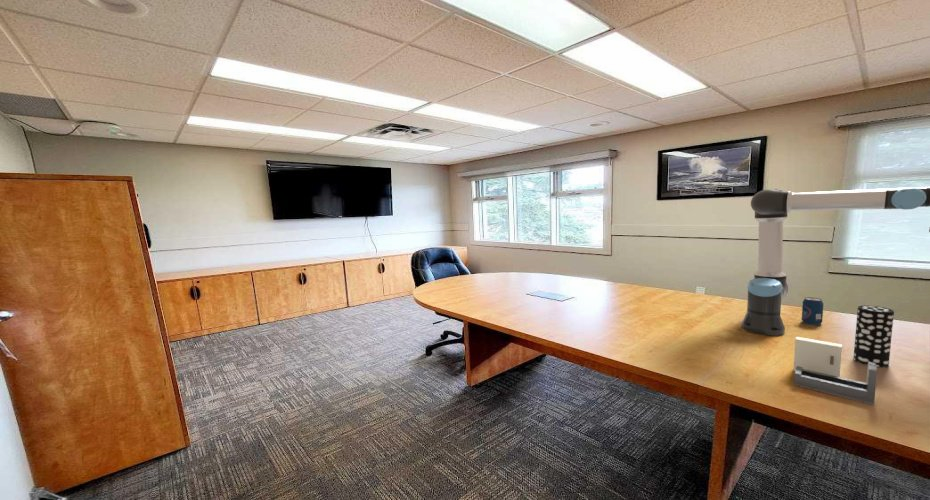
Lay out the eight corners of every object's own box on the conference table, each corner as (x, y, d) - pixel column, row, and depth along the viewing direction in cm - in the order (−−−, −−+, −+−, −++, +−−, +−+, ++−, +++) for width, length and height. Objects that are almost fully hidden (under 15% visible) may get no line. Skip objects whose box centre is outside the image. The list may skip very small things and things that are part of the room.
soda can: (797, 320, 167) (798, 297, 165) (813, 320, 166) (815, 296, 164) (809, 325, 160) (811, 301, 158) (826, 325, 159) (828, 300, 157)
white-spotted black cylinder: (893, 369, 119) (899, 313, 116) (858, 364, 123) (863, 310, 121) (881, 359, 126) (887, 306, 123) (849, 355, 130) (853, 304, 128)
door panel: (793, 371, 121) (795, 339, 120) (794, 368, 123) (796, 336, 122) (839, 382, 113) (841, 347, 111) (839, 378, 115) (842, 344, 114)
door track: (793, 385, 113) (795, 354, 111) (795, 377, 117) (797, 348, 116) (873, 405, 100) (877, 371, 99) (872, 395, 105) (875, 362, 103)
